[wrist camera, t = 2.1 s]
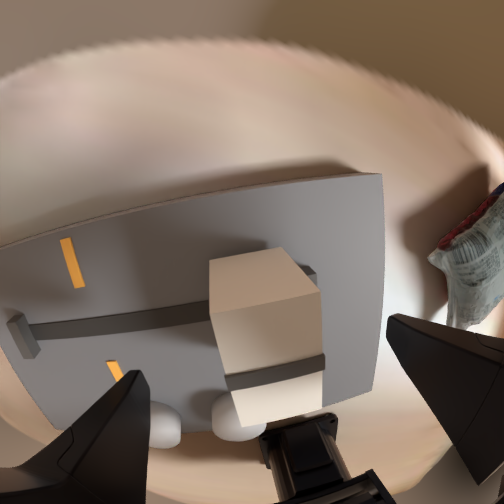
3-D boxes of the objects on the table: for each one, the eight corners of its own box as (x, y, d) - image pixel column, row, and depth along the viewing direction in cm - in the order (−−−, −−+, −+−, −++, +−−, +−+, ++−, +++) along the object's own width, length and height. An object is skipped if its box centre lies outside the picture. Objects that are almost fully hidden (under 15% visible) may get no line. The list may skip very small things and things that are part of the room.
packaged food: (505, 255, 18) (541, 270, 13) (429, 331, 18) (466, 363, 14) (493, 170, 15) (538, 177, 11) (408, 241, 16) (462, 265, 11)
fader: (282, 246, 12) (324, 292, 7) (292, 343, 13) (324, 410, 9) (208, 260, 11) (207, 316, 7) (230, 356, 13) (241, 430, 8)
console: (361, 172, 14) (401, 175, 10) (359, 373, 18) (381, 405, 15) (-16, 252, 12) (-49, 270, 8) (62, 412, 16) (50, 443, 12)
